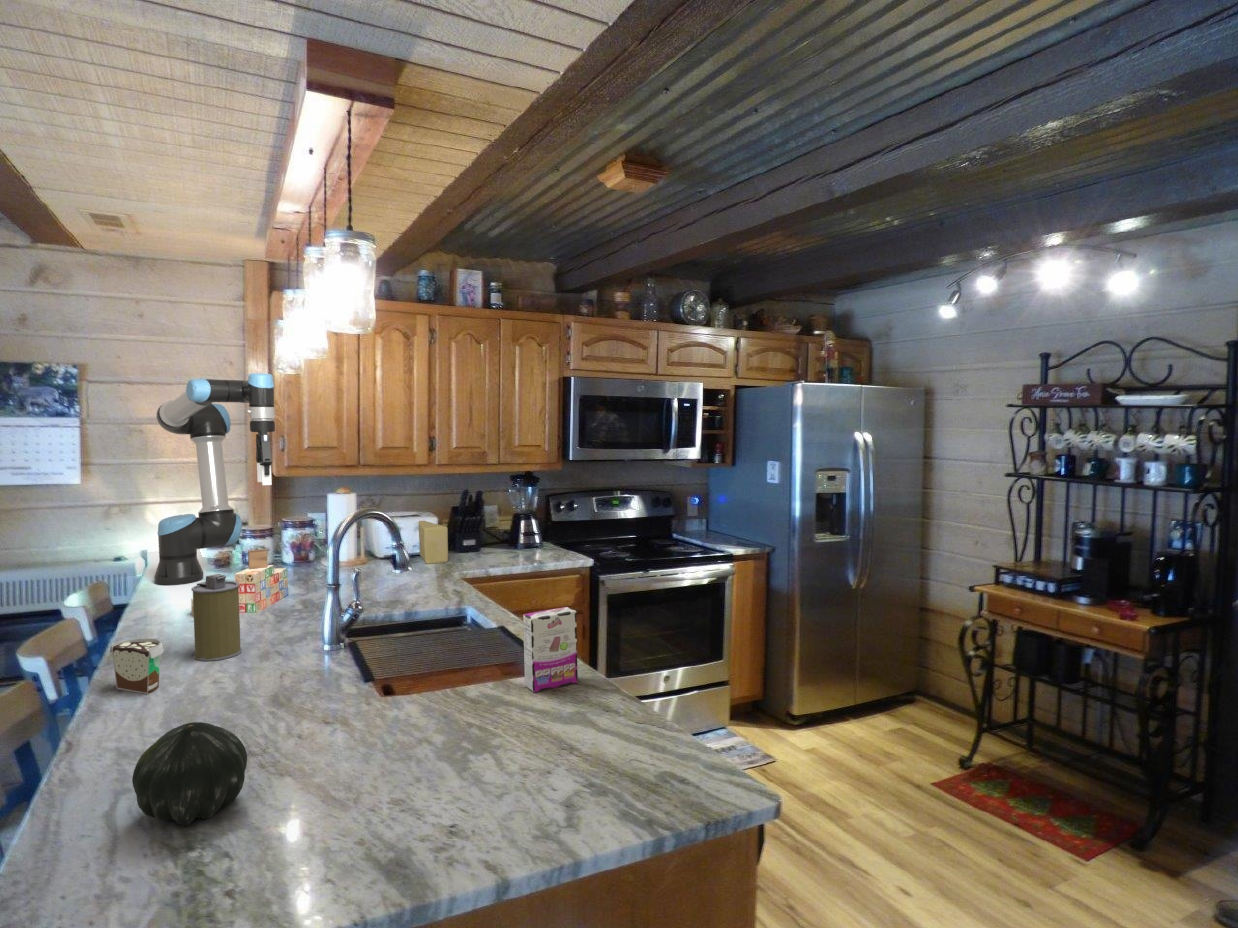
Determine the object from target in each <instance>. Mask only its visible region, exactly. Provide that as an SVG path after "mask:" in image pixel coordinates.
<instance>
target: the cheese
mask: <svg viewBox="0 0 1238 928" xmlns="http://www.w3.org/2000/svg"><path fill="white" fill-rule="evenodd" d="M448 533H449V531H448V527H447V526H444V525H441V524H437V523H433V522H429V521H427V520H419V521H418V539H419V540H418V541H419V556H420V557H421V558H422V559H423V561H424V564H426V565H433V564H442V563H447V562H449V542H448V541H449V540H448V539H449V536H448V535H449V534H448Z"/></svg>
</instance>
